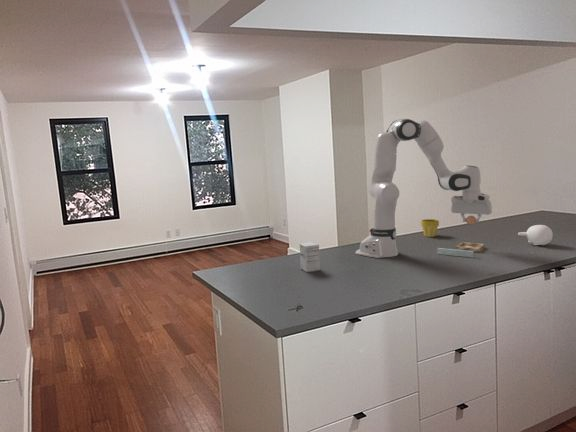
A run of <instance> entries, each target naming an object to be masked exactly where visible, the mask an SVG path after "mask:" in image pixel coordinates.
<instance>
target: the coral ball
mask: <svg viewBox="0 0 576 432" xmlns="http://www.w3.org/2000/svg"><path fill="white" fill-rule="evenodd" d="M465 218H466V222H465V223H466V224H467V225H470V226H473V225H475V224H476V222H475V219H477V218H476V216H474V215H468V216H467V217H465Z"/></svg>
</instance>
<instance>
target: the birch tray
mask: <svg viewBox="0 0 576 432" xmlns="http://www.w3.org/2000/svg"><path fill="white" fill-rule="evenodd" d="M485 248H486V243H478V242H477V243H475V242H466V241H465V242H461V243H459V244H458V245H456V246H455V250H465V251H474V253H477V254H478V253H479V254H480V253H481V252H482V251H483V250H485Z"/></svg>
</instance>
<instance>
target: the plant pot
mask: <svg viewBox="0 0 576 432" xmlns="http://www.w3.org/2000/svg"><path fill="white" fill-rule="evenodd" d="M439 224H440V221H439V219H433V218H429V219H428V218H426V219H425V218H424V219H421V220H420V226H421V227H422V231H423V235H424V237H426V238H434V237H436V235H437V230H438V227H439Z"/></svg>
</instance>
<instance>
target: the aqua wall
mask: <svg viewBox="0 0 576 432" xmlns="http://www.w3.org/2000/svg"><path fill="white" fill-rule="evenodd" d="M474 253H475V252H474V251H465V250H456V249H452V248H443V247H437V249H436V254H437V255H442V256H443V255H445V256H452V257H453V256H455V257H462V258H463V257H464V258H472V259H473V258H474Z"/></svg>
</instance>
